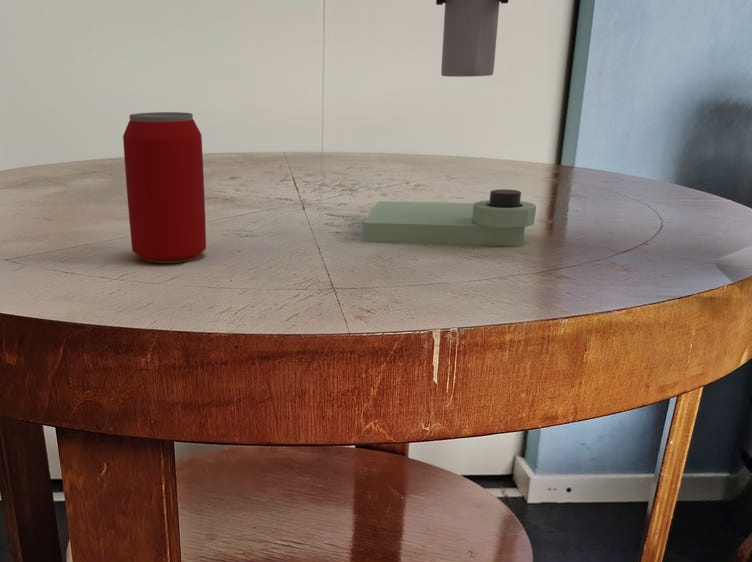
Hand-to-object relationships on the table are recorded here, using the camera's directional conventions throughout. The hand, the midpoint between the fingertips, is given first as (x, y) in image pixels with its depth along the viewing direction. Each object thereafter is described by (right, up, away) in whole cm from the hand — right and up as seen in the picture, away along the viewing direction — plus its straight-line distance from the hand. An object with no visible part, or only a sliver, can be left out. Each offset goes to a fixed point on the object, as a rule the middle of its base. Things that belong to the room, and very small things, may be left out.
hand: (472, 0), depth 76 cm
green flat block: (0, -15, +15) cm, 21 cm away
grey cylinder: (0, -5, +3) cm, 6 cm away
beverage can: (-26, -20, +6) cm, 34 cm away
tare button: (+5, -15, +9) cm, 18 cm away
